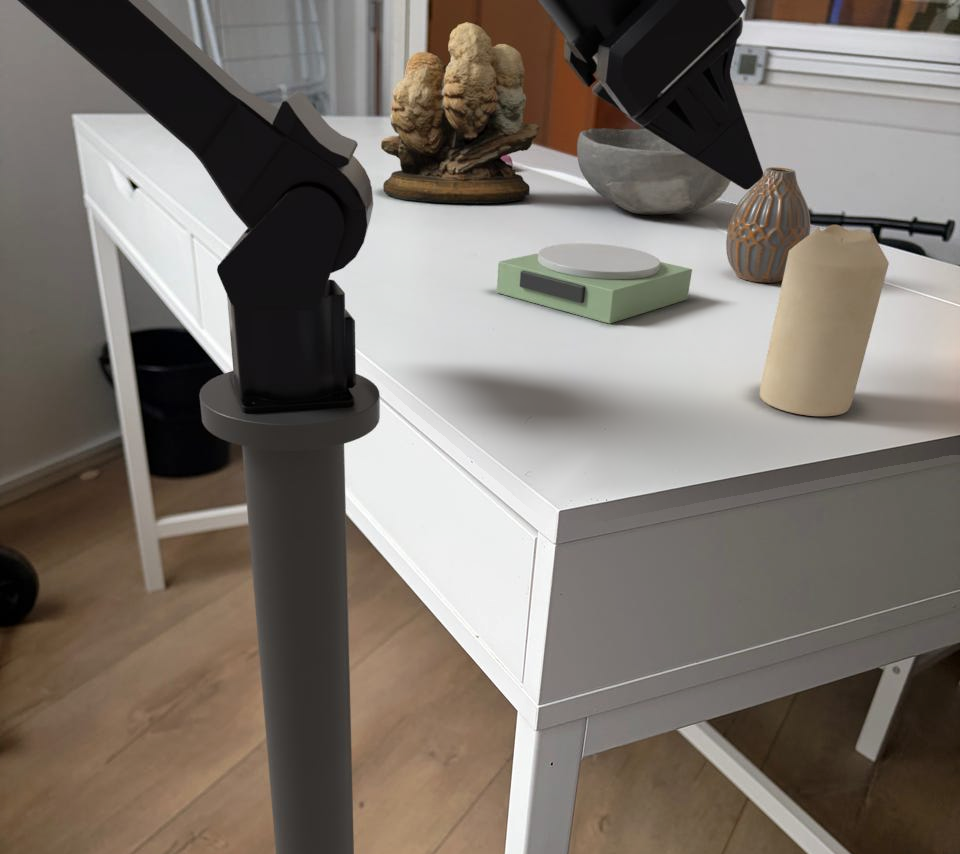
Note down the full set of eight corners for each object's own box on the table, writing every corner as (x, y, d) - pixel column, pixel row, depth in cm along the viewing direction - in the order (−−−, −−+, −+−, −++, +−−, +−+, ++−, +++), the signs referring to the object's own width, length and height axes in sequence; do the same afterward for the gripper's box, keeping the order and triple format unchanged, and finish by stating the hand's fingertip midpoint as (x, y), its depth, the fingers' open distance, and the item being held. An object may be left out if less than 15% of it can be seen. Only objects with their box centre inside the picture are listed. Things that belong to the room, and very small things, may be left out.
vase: (815, 283, 88) (840, 174, 83) (761, 290, 85) (784, 178, 80) (756, 265, 93) (777, 161, 88) (703, 272, 89) (721, 164, 84)
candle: (770, 415, 59) (810, 236, 54) (749, 384, 64) (783, 216, 58) (862, 419, 59) (911, 242, 54) (834, 388, 64) (876, 222, 58)
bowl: (545, 212, 109) (552, 131, 105) (605, 192, 122) (613, 119, 118) (704, 236, 103) (718, 150, 98) (749, 212, 116) (763, 135, 112)
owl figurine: (519, 186, 122) (530, 23, 113) (549, 205, 113) (564, 28, 104) (374, 185, 118) (373, 15, 109) (392, 204, 109) (393, 19, 99)
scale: (607, 324, 74) (612, 282, 72) (493, 293, 79) (496, 253, 78) (687, 299, 81) (693, 261, 79) (578, 272, 87) (582, 236, 85)
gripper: (737, -296, 37) (938, 65, 43) (648, -213, 52) (806, 43, 59) (510, -50, 41) (727, 247, 47) (489, -41, 56) (655, 182, 63)
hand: (732, 168), depth 54 cm, fingers open, 9 cm apart
